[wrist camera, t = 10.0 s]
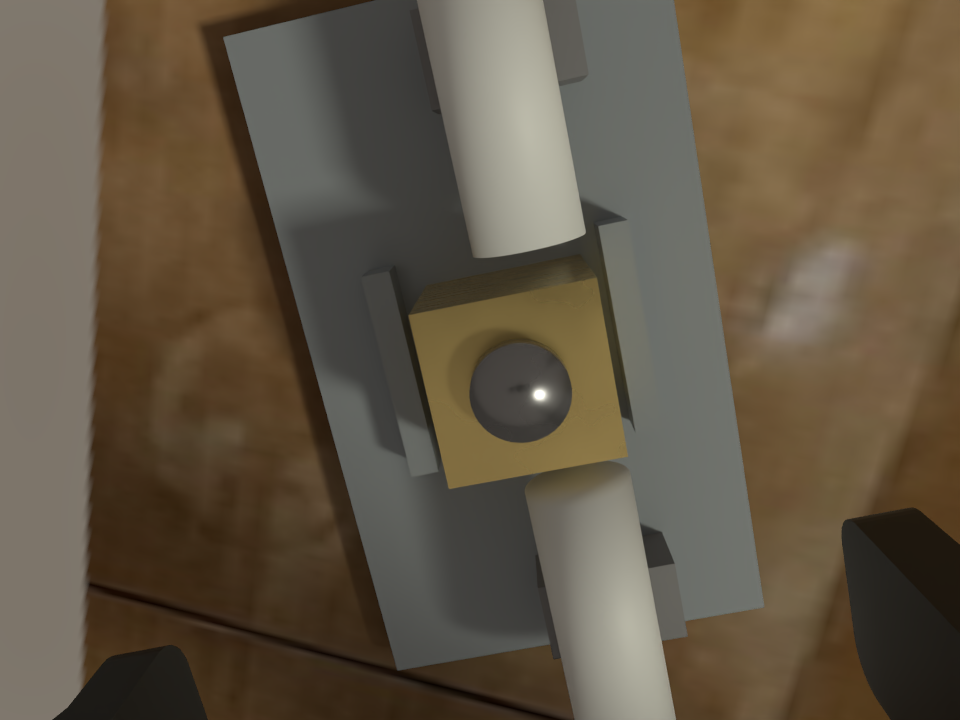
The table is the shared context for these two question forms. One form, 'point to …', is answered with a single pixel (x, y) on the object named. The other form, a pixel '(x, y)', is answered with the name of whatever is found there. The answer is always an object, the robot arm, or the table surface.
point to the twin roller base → (497, 246)
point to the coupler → (518, 371)
